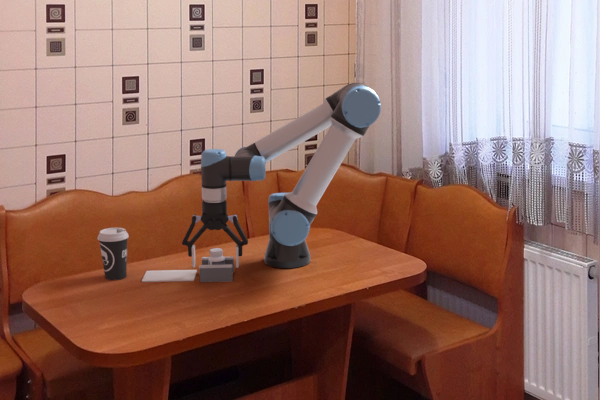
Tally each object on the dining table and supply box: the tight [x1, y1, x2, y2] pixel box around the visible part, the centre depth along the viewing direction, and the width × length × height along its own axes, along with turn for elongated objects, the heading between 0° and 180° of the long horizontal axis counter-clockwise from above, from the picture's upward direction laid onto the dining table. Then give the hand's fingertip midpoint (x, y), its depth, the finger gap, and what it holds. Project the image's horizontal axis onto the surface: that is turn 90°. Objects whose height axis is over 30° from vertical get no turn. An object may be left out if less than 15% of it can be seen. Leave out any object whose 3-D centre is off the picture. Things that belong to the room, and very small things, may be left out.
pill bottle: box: [208, 247, 226, 265], centre depth 263 cm, size 5×5×9 cm
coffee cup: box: [97, 227, 130, 281], centre depth 264 cm, size 10×10×15 cm
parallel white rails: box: [198, 255, 235, 283], centre depth 264 cm, size 10×10×5 cm
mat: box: [141, 269, 198, 283], centre depth 266 cm, size 16×10×1 cm, turn 91°
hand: (215, 266), depth 264 cm, fingers open, 13 cm apart
